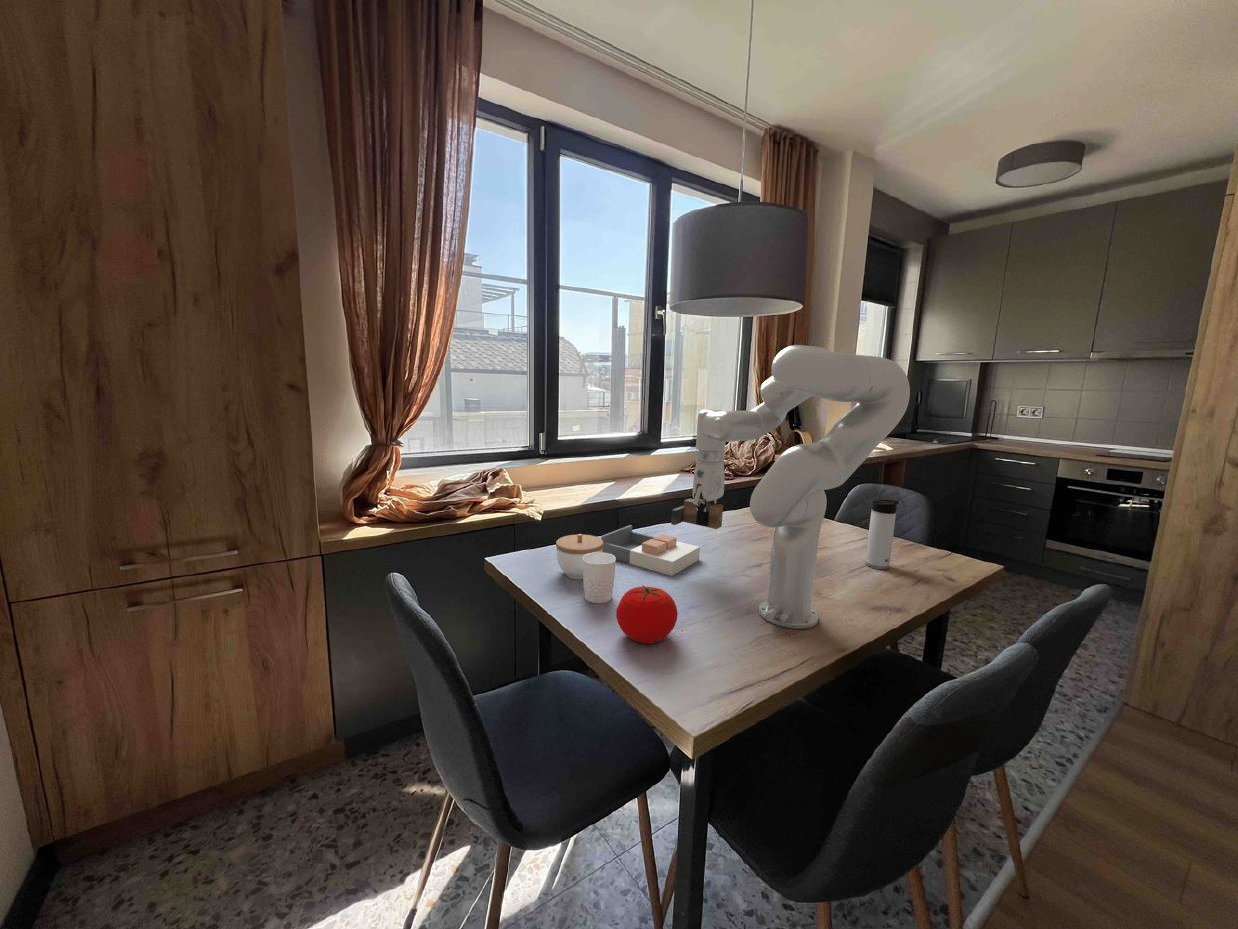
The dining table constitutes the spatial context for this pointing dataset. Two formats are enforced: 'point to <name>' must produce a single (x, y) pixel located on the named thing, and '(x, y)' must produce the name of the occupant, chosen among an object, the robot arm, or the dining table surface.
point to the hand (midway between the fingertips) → (705, 523)
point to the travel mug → (881, 533)
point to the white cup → (598, 576)
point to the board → (666, 558)
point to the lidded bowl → (576, 552)
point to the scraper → (690, 514)
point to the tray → (623, 542)
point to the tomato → (646, 614)
